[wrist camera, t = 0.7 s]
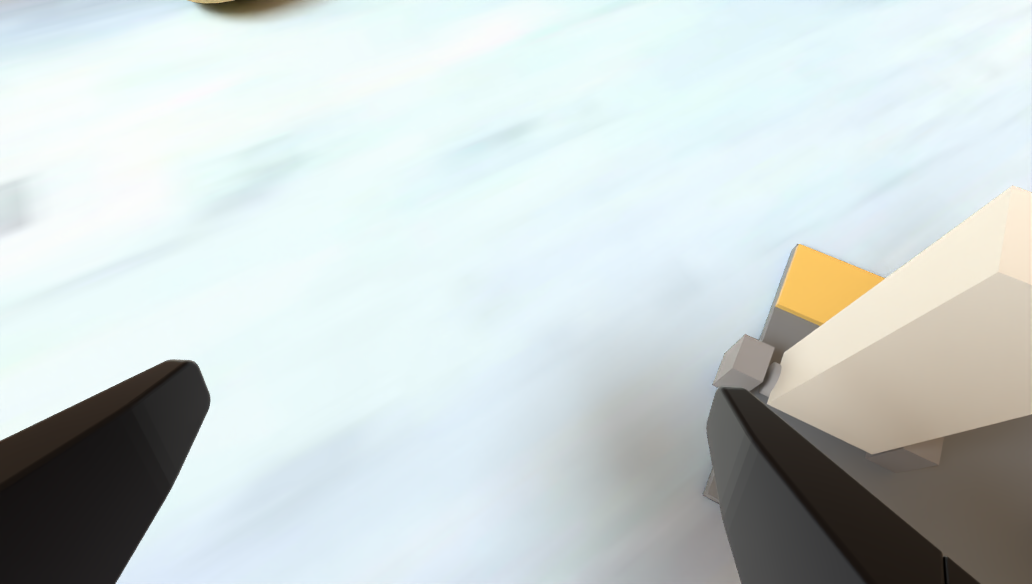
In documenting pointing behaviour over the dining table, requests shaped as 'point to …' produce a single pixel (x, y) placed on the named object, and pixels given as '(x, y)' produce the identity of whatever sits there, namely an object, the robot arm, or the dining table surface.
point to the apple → (209, 1)
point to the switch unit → (910, 469)
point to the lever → (924, 342)
